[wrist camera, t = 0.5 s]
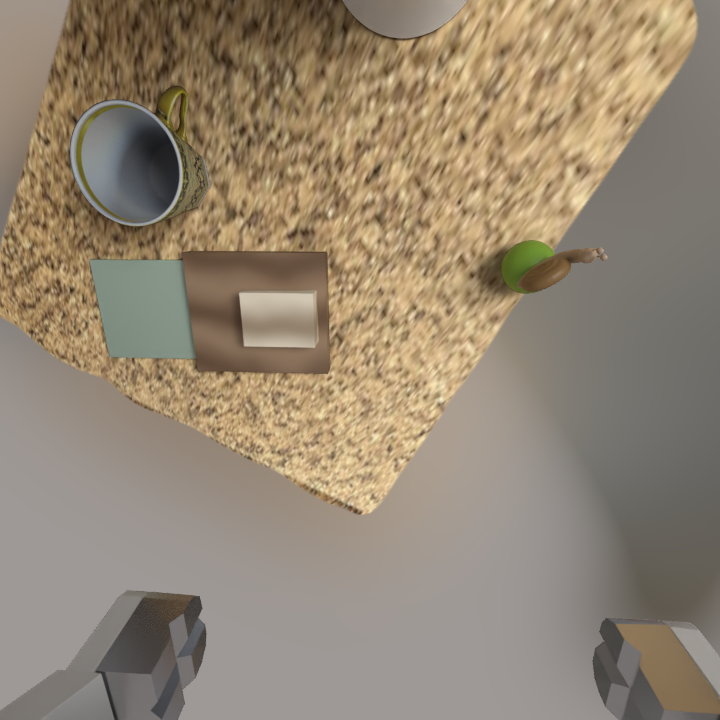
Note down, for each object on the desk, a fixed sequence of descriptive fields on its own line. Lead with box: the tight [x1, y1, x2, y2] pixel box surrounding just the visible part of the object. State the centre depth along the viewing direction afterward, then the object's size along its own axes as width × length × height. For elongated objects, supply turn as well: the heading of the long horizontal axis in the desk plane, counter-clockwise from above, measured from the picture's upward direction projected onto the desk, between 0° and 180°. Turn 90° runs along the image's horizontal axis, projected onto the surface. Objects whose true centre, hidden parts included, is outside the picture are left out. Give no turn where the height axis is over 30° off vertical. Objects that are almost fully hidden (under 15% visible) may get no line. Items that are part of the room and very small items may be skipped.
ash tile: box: [239, 289, 319, 348], centre depth 46 cm, size 6×8×2 cm
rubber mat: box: [89, 259, 196, 359], centre depth 50 cm, size 12×12×1 cm
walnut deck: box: [182, 251, 330, 374], centre depth 48 cm, size 14×16×2 cm
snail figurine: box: [501, 240, 607, 294], centre depth 40 cm, size 5×6×12 cm
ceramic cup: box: [70, 86, 210, 226], centre depth 40 cm, size 13×10×10 cm
